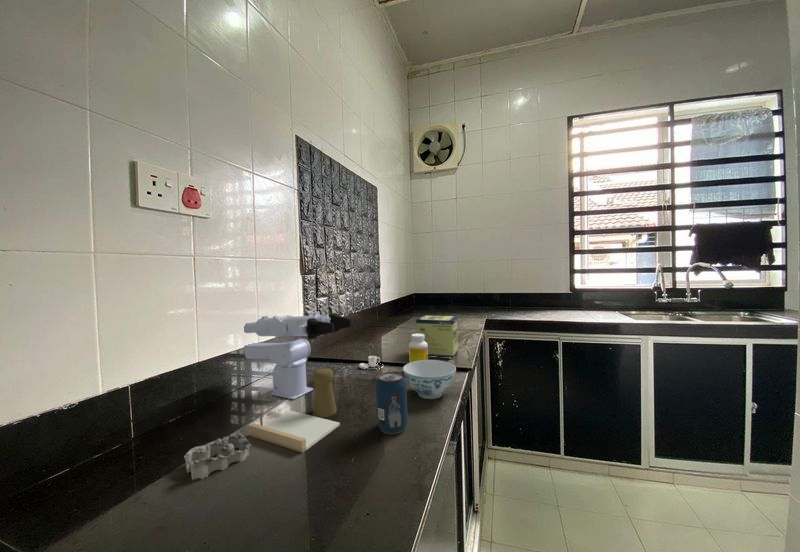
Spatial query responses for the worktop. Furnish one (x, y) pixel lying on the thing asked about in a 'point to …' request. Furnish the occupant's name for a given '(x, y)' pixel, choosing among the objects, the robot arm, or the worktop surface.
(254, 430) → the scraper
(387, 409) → the soda can
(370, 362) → the teacup and saucer
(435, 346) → the protein box
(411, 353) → the supplement bottle
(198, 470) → the egg carton
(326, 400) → the cork
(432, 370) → the chinaware
